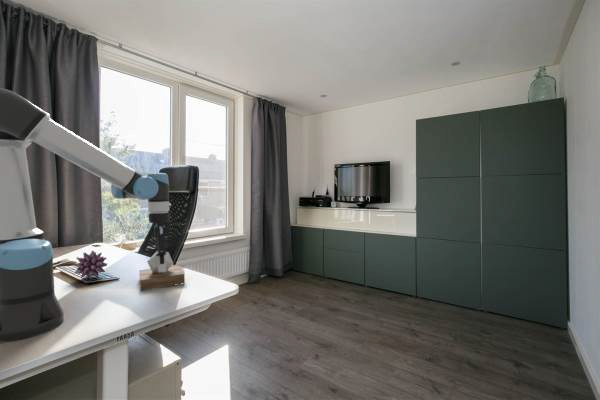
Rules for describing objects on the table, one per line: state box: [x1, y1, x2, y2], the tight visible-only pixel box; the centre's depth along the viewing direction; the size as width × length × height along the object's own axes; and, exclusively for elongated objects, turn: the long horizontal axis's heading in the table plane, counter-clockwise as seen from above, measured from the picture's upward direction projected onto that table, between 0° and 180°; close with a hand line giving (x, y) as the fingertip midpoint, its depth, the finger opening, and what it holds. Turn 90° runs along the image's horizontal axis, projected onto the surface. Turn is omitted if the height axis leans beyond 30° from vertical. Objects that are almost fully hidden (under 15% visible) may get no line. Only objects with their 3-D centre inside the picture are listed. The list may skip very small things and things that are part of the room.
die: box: [147, 251, 174, 273], centre depth 119 cm, size 8×9×10 cm
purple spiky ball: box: [73, 250, 108, 279], centre depth 125 cm, size 12×12×12 cm
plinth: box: [139, 264, 185, 292], centre depth 119 cm, size 15×15×4 cm
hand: (161, 269), depth 119 cm, fingers open, 8 cm apart
